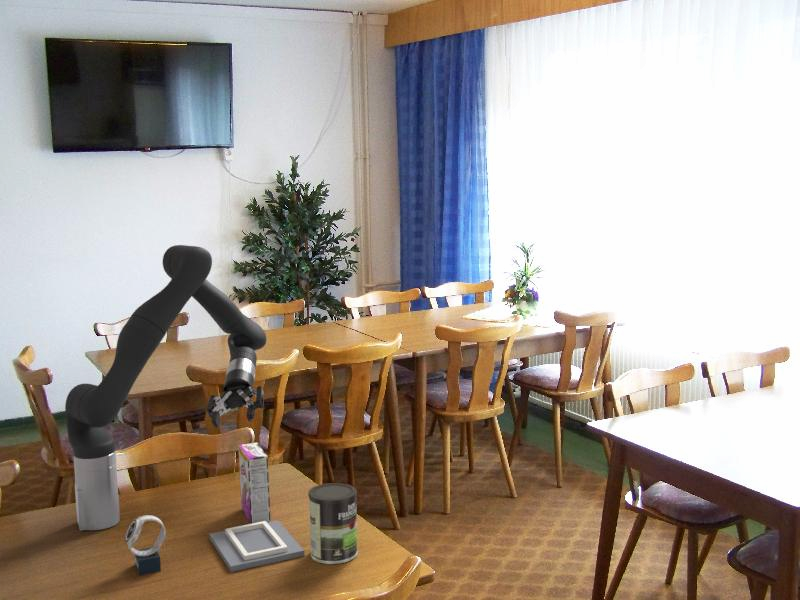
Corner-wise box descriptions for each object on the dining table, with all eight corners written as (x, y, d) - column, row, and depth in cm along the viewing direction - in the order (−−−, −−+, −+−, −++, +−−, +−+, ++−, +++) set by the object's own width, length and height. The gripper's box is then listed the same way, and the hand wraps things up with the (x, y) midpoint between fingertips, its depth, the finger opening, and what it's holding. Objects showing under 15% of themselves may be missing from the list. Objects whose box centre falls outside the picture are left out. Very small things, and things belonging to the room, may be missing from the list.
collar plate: (231, 571, 173) (230, 561, 172) (209, 538, 189) (209, 529, 188) (304, 555, 180) (304, 545, 179) (277, 525, 196) (277, 516, 195)
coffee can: (367, 550, 182) (366, 487, 180) (339, 569, 174) (337, 503, 172) (329, 539, 188) (327, 479, 186) (300, 557, 179) (298, 494, 177)
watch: (125, 566, 176) (122, 516, 174) (164, 558, 179) (161, 509, 178) (129, 577, 171) (126, 526, 169) (169, 569, 174) (166, 519, 173)
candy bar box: (240, 508, 206) (237, 444, 203) (260, 505, 208) (257, 441, 205) (250, 526, 195) (247, 458, 193) (271, 522, 197) (268, 455, 195)
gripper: (209, 373, 219) (199, 416, 206) (261, 363, 218) (255, 405, 204) (218, 394, 223) (209, 437, 210) (270, 384, 222) (264, 427, 209)
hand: (232, 422), depth 207 cm, fingers open, 8 cm apart
